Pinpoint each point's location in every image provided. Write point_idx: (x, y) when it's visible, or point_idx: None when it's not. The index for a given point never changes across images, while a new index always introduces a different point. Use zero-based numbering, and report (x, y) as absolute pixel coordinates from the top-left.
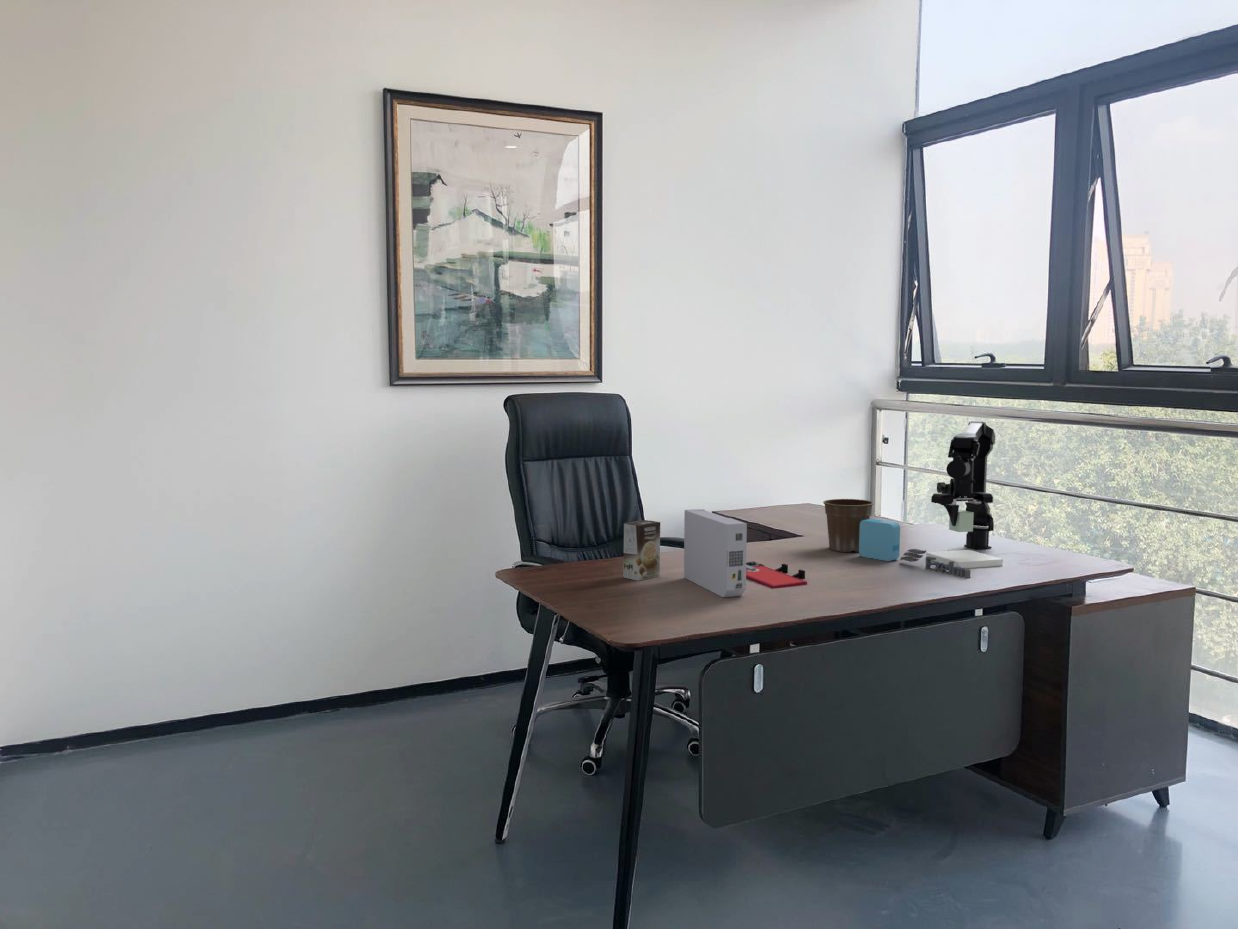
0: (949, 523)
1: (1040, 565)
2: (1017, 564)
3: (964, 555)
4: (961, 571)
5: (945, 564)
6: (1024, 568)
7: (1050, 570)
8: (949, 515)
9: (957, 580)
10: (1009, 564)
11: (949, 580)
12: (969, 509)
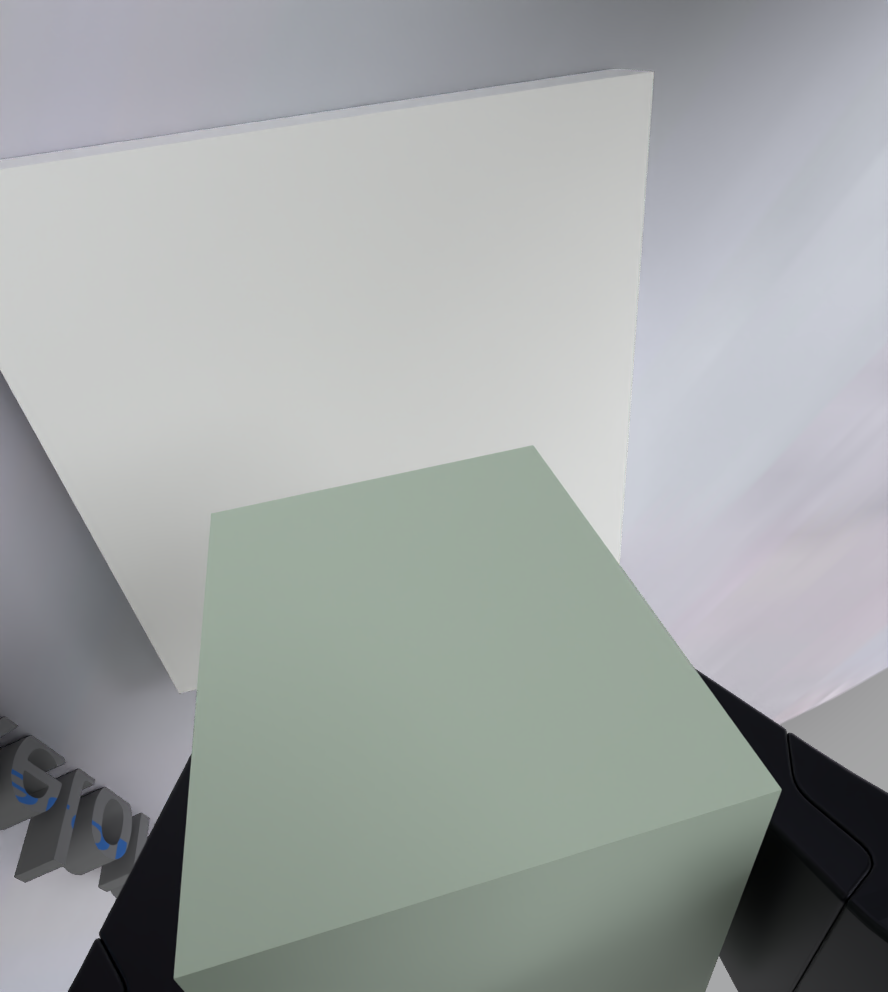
0: (204, 611)
1: (836, 537)
2: (729, 507)
3: (384, 431)
4: (108, 868)
5: (3, 824)
6: (669, 614)
7: (761, 651)
8: (110, 942)
9: (59, 890)
10: (677, 507)
11: (2, 898)
12: (809, 950)
